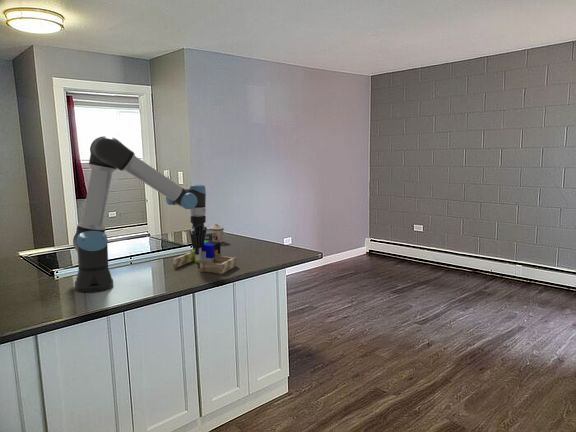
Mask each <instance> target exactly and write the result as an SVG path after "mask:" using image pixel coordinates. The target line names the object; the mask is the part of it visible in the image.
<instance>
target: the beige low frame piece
mask: <svg viewBox="0 0 576 432" xmlns="http://www.w3.org/2000/svg"><path fill="white" fill-rule="evenodd" d="M193 261H195V250H193V249H192V250H191V251H190V252H188V253H185V254H183V255H180V256H177V257H174V258H172V267H173V269H174V268H175V269H177V268H179V267H182V266H184V265H186V264H188V263H191V262H193ZM235 267H237V257H233V256H227V255H226V256H225V255H222V254H221V253H220V254H216V256H215V263H211V262H204V261H203V262H201V263H199V272H200V273H203V272H206V273H212V272H213V274H220V275H222V274H224V273H226V272H228V271H229V270H232V269H233V268H235Z"/></svg>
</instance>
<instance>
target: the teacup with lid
mask: <svg viewBox="0 0 576 432" xmlns="http://www.w3.org/2000/svg"><path fill="white" fill-rule="evenodd" d="M224 230H225V229H224V227H223V226H221V225H219V224H218V223H215V224H214V225H213V226H210V227H209V232H210V233H212V241H215V242H221V243H223V242H224V240H225V239H226V237H227V233H226V232H225V231H224Z"/></svg>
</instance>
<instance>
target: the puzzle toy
mask: <svg viewBox="0 0 576 432" xmlns="http://www.w3.org/2000/svg"><path fill="white" fill-rule="evenodd" d="M221 243H222V242H215V241H206V240H205V242H204V247H203V248H201V261H197V260H194V263H195V264H200V263H201V262H203V261H204V262H211V263H215V256H216V254H221V250H222V249H221V247H222V246H221Z"/></svg>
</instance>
